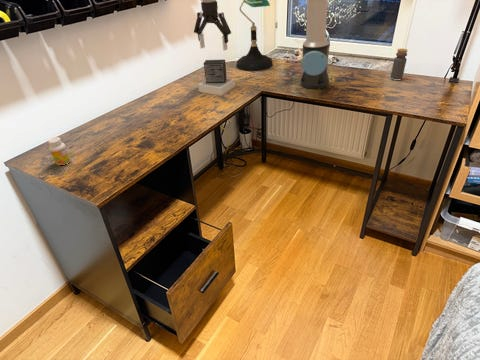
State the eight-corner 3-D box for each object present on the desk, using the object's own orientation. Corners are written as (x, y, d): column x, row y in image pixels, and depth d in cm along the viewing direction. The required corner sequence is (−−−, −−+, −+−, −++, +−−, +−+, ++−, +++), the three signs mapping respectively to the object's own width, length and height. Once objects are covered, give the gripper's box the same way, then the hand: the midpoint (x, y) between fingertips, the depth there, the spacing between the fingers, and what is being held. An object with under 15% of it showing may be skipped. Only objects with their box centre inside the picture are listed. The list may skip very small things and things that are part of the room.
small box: (227, 78, 178) (225, 58, 172) (225, 83, 172) (223, 62, 166) (207, 79, 179) (205, 59, 173) (205, 83, 174) (203, 63, 168)
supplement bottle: (52, 165, 123) (42, 142, 118) (63, 157, 127) (54, 135, 122) (64, 167, 122) (54, 144, 116) (74, 159, 126) (65, 137, 120)
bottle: (404, 79, 176) (411, 49, 167) (397, 81, 174) (404, 52, 165) (394, 76, 180) (401, 47, 171) (387, 78, 178) (393, 49, 169)
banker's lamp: (278, 69, 199) (279, -7, 176) (241, 74, 196) (237, -3, 173) (266, 57, 221) (265, -12, 197) (232, 61, 217) (228, -9, 194)
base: (235, 86, 180) (234, 78, 177) (221, 95, 170) (220, 87, 168) (213, 83, 186) (212, 75, 183) (199, 91, 176) (198, 83, 174)
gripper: (182, 2, 156) (189, 48, 169) (227, 2, 146) (231, 52, 158) (192, -1, 162) (198, 45, 174) (236, -1, 151) (239, 48, 163)
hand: (213, 48), depth 166 cm, fingers open, 13 cm apart
